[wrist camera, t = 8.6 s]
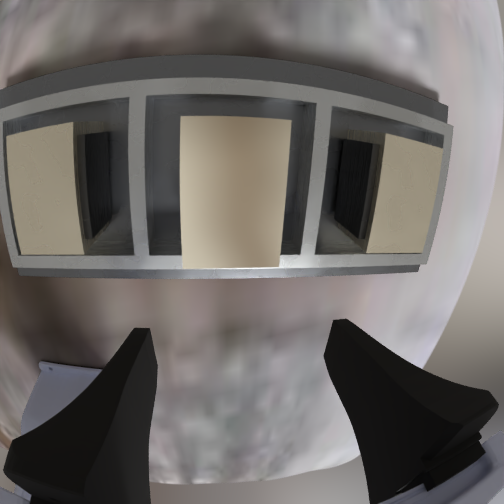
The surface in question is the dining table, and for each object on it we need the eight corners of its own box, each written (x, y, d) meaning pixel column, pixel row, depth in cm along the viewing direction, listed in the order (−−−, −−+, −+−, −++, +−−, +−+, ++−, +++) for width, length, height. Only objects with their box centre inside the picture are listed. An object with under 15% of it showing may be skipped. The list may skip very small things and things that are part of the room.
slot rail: (25, 269, 16) (-9, 306, 12) (8, 90, 11) (-39, 89, 7) (411, 266, 21) (448, 298, 17) (439, 105, 16) (488, 110, 11)
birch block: (189, 227, 16) (183, 268, 12) (189, 119, 14) (180, 116, 9) (259, 227, 17) (278, 267, 12) (265, 121, 14) (291, 120, 10)
